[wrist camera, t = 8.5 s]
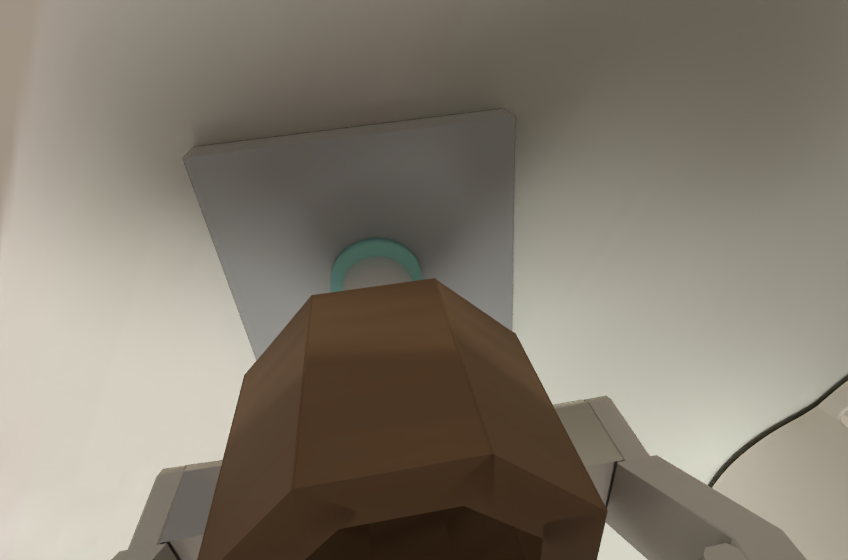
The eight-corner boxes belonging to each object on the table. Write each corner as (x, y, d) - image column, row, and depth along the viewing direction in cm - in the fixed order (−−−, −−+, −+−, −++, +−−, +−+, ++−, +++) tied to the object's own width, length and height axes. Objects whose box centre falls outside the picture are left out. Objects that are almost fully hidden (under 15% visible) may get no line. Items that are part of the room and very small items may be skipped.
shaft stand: (504, 108, 15) (601, 179, 10) (503, 343, 21) (565, 483, 15) (193, 146, 15) (89, 249, 9) (275, 380, 20) (244, 541, 14)
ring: (518, 265, 10) (626, 430, 6) (510, 456, 13) (578, 639, 9) (220, 307, 9) (138, 516, 6) (287, 495, 13) (265, 708, 9)
